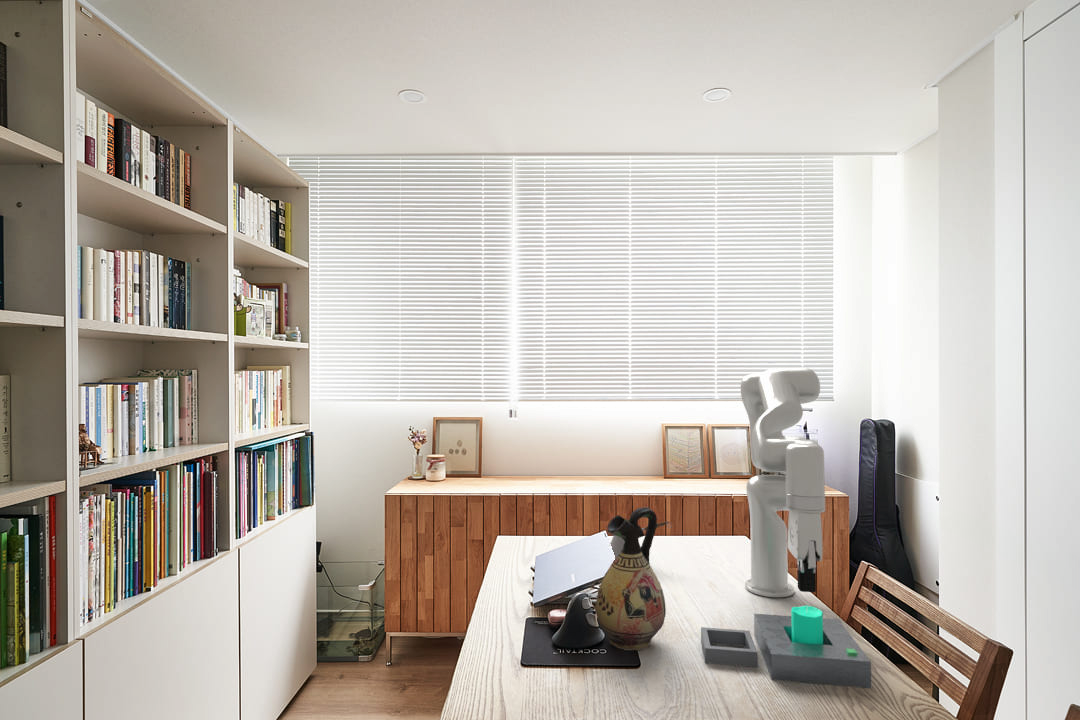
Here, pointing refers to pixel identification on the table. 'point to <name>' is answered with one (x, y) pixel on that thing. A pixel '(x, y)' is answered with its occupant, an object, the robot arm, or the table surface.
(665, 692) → the table surface
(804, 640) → the candle
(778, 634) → the port block
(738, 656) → the grey square tray
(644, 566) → the ceramic jug
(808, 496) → the robot arm
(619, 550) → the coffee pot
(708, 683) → the table surface
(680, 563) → the table surface
